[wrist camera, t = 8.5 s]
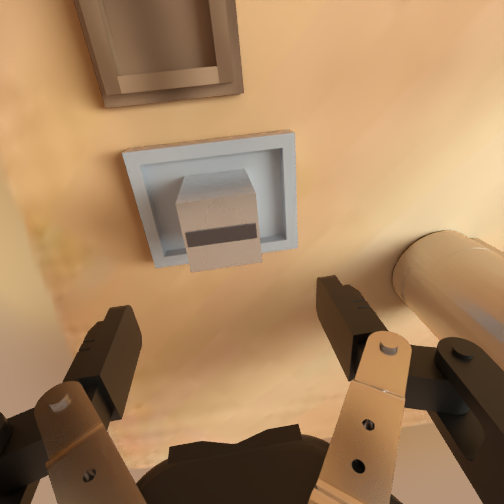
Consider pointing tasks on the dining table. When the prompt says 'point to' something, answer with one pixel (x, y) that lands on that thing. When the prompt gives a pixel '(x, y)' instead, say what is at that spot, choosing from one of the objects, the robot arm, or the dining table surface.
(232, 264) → the block
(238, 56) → the frame
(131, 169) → the tray
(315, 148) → the dining table surface
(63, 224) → the dining table surface
